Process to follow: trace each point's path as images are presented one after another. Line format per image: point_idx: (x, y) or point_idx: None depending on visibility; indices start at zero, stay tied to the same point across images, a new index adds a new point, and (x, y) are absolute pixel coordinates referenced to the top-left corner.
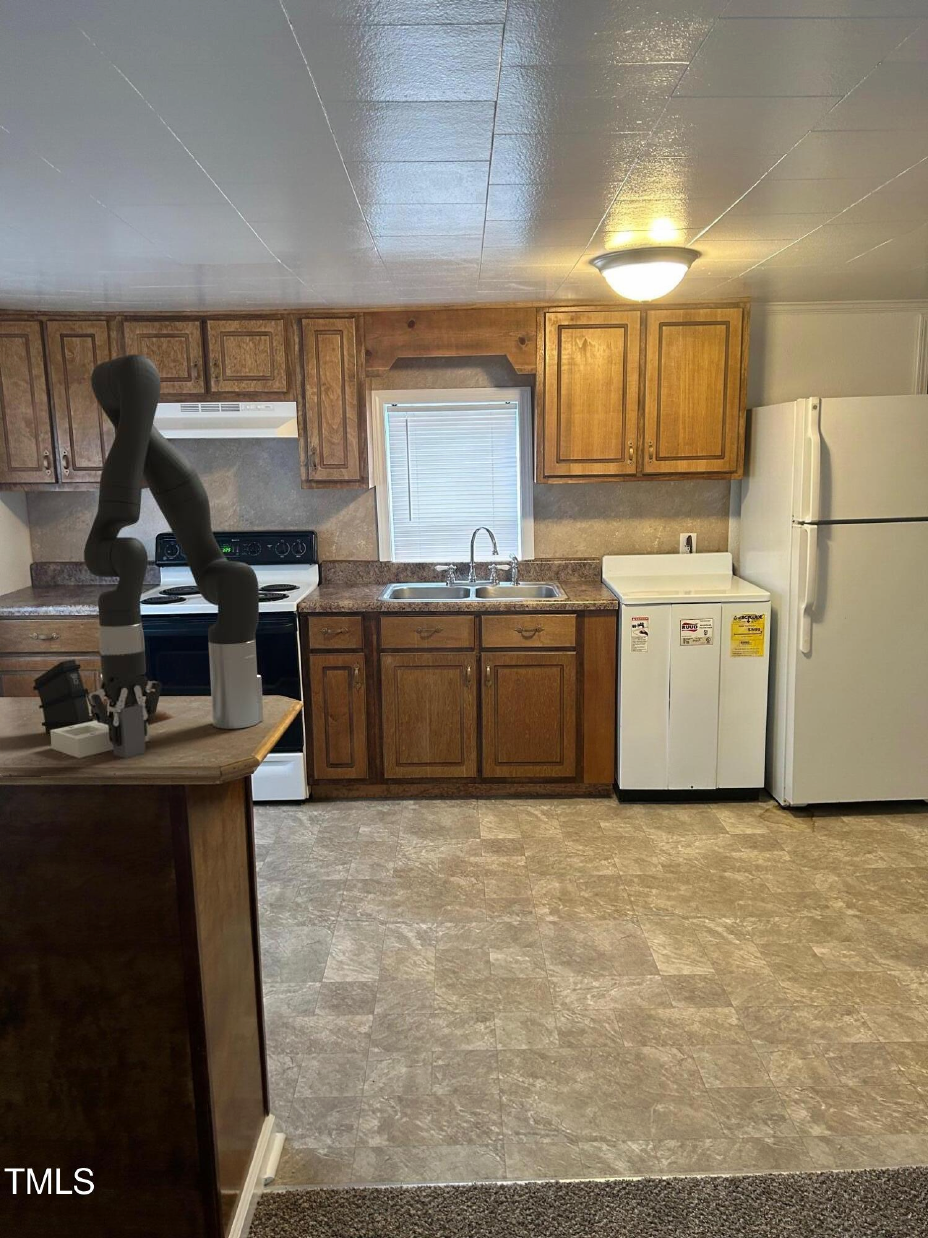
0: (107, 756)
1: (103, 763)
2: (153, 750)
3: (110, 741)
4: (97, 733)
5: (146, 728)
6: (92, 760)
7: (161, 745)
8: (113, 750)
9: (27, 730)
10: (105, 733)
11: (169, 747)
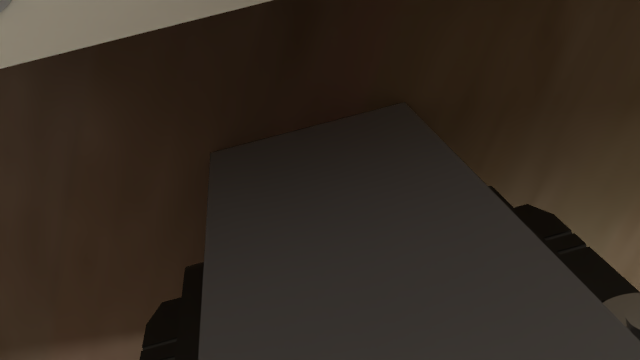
0: (149, 176)
1: (82, 346)
2: None
3: (160, 315)
4: (42, 5)
5: None
6: (6, 220)
7: (625, 121)
8: (210, 168)
9: None
10: (161, 26)
11: (631, 216)
